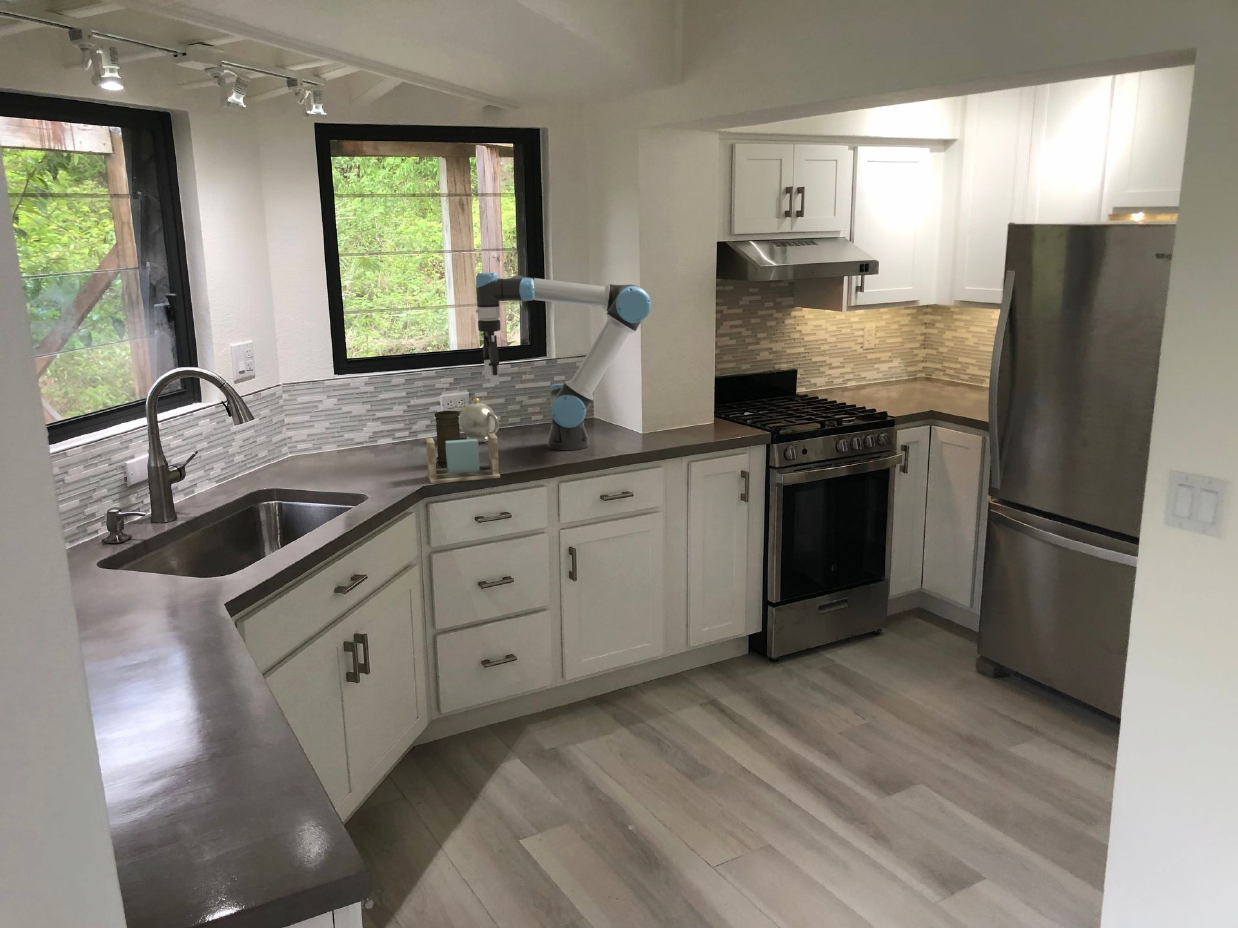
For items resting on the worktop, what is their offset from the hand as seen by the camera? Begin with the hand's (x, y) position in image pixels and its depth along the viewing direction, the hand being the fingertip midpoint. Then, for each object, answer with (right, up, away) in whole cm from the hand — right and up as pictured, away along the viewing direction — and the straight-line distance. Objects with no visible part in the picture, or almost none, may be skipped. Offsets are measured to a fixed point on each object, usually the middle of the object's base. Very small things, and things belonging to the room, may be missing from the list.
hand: (491, 381), depth 333 cm
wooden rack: (-7, -32, -19) cm, 38 cm away
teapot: (-8, -20, +31) cm, 38 cm away
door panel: (-7, -32, -19) cm, 37 cm away
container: (-14, -29, -3) cm, 32 cm away
